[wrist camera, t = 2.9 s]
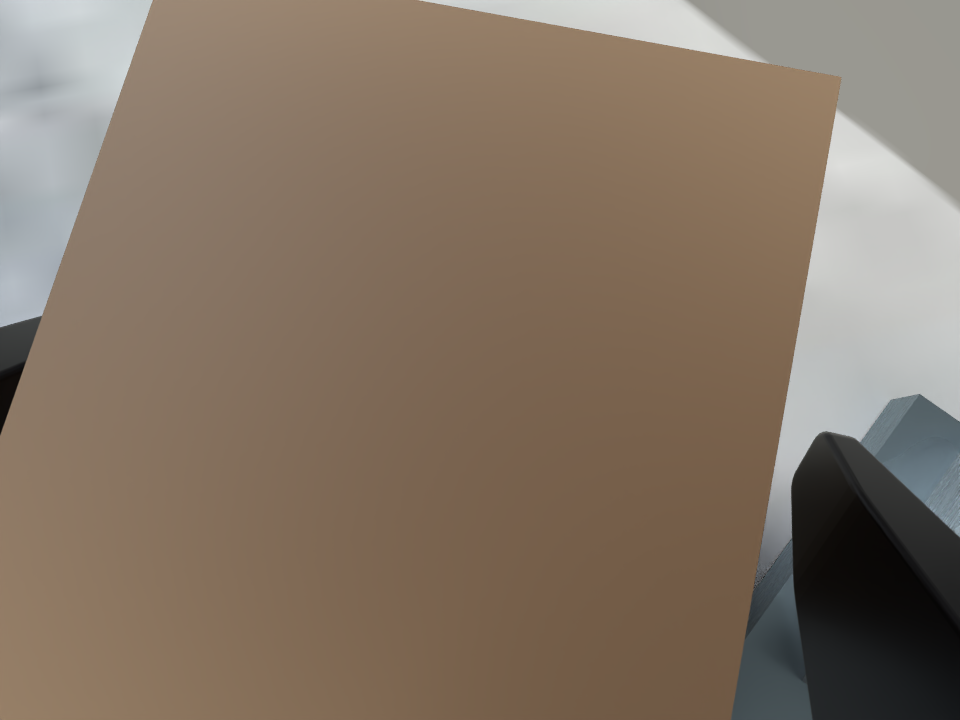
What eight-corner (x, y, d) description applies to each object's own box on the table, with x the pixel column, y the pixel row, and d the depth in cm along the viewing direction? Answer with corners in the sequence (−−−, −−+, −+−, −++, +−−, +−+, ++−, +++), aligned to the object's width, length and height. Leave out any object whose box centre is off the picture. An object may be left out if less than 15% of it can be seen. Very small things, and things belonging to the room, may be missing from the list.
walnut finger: (538, 582, 16) (653, 1163, 3) (400, 546, 17) (-162, 891, 3) (579, 398, 17) (840, 75, 3) (445, 367, 17) (168, -46, 4)
